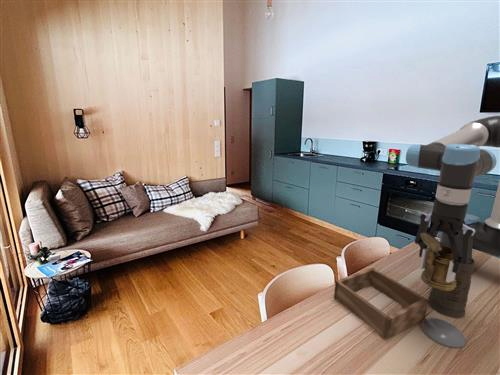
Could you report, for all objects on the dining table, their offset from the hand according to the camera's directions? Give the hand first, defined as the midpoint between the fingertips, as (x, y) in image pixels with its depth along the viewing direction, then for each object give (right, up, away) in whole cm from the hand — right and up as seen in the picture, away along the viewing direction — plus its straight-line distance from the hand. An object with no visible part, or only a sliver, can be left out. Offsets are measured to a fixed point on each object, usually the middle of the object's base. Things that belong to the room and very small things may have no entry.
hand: (436, 273), depth 81 cm
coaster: (+4, -19, +2) cm, 19 cm away
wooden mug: (0, -4, +1) cm, 4 cm away
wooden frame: (-11, -16, +13) cm, 24 cm away
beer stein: (+13, -16, +16) cm, 26 cm away
